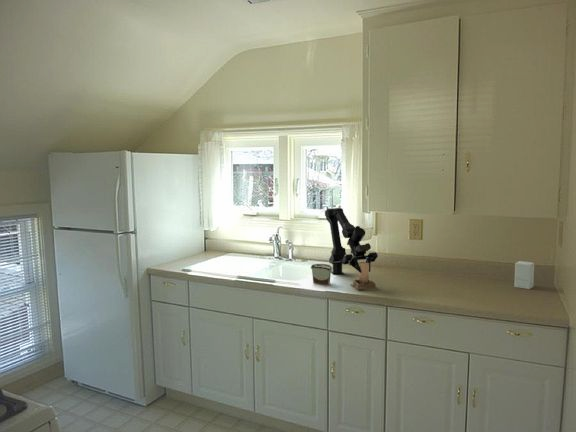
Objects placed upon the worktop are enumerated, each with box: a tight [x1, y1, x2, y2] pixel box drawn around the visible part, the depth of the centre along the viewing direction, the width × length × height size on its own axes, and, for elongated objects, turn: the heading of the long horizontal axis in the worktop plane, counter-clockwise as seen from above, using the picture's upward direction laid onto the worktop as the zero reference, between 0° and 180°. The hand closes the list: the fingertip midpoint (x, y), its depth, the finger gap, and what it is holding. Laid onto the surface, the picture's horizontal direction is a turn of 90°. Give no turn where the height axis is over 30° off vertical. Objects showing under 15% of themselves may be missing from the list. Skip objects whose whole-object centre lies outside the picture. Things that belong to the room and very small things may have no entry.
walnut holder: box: [350, 278, 379, 292], centre depth 228 cm, size 11×11×3 cm
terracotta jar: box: [358, 261, 370, 284], centre depth 227 cm, size 5×5×11 cm
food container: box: [310, 263, 333, 286], centre depth 237 cm, size 12×6×10 cm, turn 56°
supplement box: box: [513, 260, 535, 290], centre depth 225 cm, size 7×7×13 cm
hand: (365, 271), depth 226 cm, fingers closed on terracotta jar, 5 cm apart
